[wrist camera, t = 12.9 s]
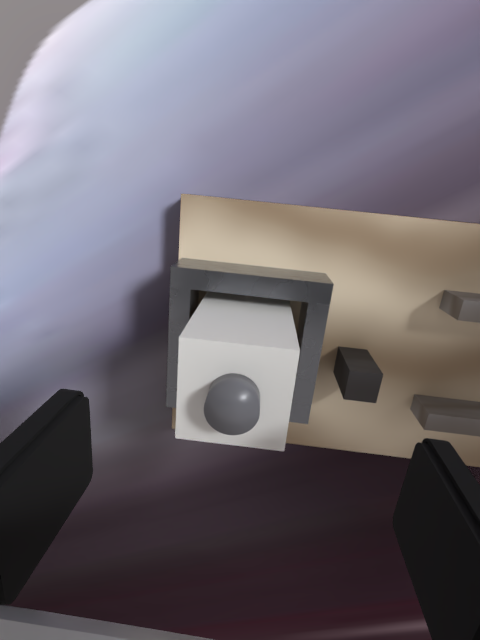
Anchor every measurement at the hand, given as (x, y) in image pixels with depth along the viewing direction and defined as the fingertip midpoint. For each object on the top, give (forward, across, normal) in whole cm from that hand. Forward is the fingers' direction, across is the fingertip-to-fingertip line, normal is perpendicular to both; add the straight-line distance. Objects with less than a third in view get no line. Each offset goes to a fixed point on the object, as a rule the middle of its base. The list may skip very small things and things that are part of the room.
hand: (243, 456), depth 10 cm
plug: (+11, +1, 0) cm, 11 cm away
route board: (+12, -5, 0) cm, 13 cm away
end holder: (+11, +1, 0) cm, 11 cm away
